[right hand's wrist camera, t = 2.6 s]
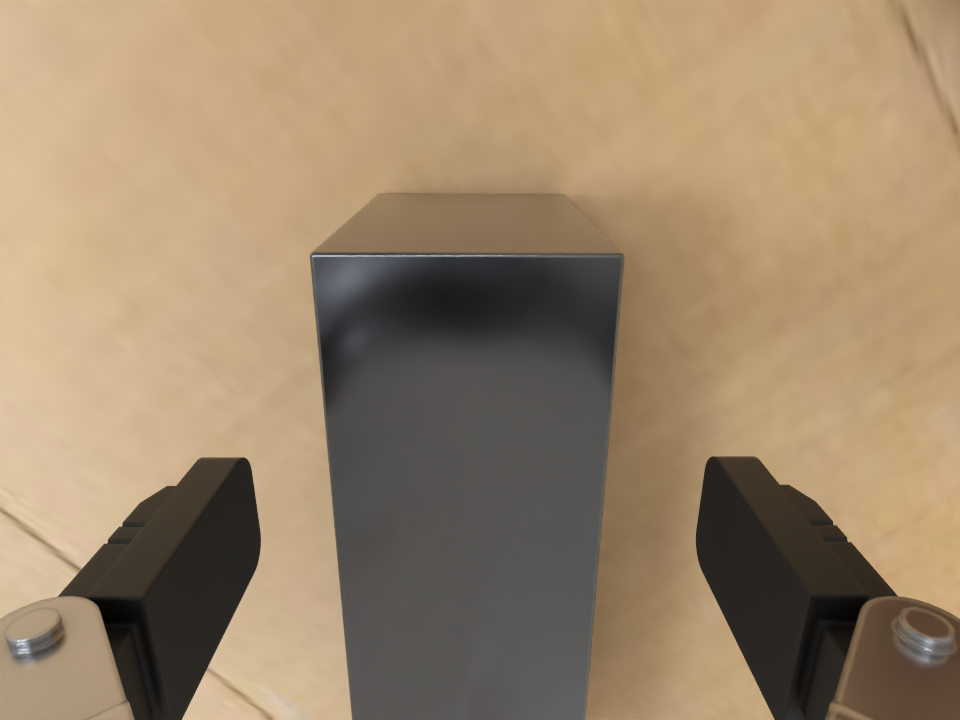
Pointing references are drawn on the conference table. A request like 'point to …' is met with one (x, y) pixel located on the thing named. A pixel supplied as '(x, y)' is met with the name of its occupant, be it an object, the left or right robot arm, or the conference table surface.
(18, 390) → the conference table surface
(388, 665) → the box
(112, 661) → the right robot arm
